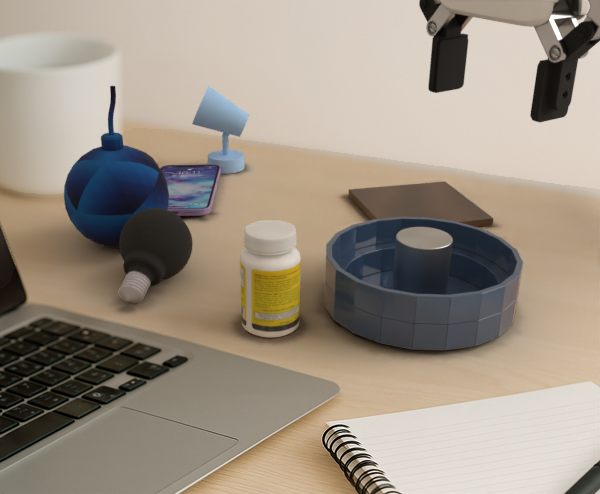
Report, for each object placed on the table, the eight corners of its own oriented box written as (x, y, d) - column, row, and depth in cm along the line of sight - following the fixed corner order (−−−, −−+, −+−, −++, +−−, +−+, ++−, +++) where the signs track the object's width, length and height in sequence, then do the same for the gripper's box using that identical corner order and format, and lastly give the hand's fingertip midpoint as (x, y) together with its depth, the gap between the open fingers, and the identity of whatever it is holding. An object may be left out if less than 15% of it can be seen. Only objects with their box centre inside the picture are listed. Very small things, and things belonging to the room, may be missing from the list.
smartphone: (139, 210, 87) (160, 164, 100) (140, 218, 87) (161, 172, 101) (209, 209, 87) (221, 164, 100) (210, 217, 87) (222, 171, 101)
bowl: (461, 258, 80) (467, 210, 77) (550, 340, 66) (561, 283, 64) (302, 276, 75) (303, 225, 73) (361, 367, 62) (365, 308, 60)
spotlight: (192, 173, 100) (248, 174, 100) (187, 90, 96) (247, 91, 96) (197, 161, 105) (252, 162, 105) (193, 81, 100) (250, 82, 100)
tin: (432, 287, 73) (438, 224, 70) (454, 311, 69) (462, 245, 66) (383, 293, 72) (387, 229, 69) (403, 317, 68) (409, 251, 65)
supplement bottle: (311, 325, 67) (314, 230, 63) (268, 345, 64) (268, 246, 61) (272, 305, 70) (272, 212, 66) (229, 323, 67) (226, 227, 64)
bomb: (182, 222, 86) (174, 77, 80) (159, 266, 77) (148, 105, 70) (90, 219, 87) (74, 74, 80) (56, 262, 77) (35, 102, 70)
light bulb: (89, 265, 67) (134, 185, 73) (93, 313, 72) (135, 234, 78) (165, 286, 67) (203, 204, 73) (164, 333, 71) (200, 252, 78)
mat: (444, 187, 97) (445, 181, 97) (492, 225, 87) (493, 218, 87) (348, 195, 94) (348, 189, 94) (386, 236, 84) (387, 228, 84)
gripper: (689, -170, 48) (630, 123, 56) (467, -164, 60) (444, 75, 68) (611, -176, 44) (558, 141, 52) (390, -169, 56) (375, 86, 64)
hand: (494, 103), depth 60 cm, fingers open, 9 cm apart
